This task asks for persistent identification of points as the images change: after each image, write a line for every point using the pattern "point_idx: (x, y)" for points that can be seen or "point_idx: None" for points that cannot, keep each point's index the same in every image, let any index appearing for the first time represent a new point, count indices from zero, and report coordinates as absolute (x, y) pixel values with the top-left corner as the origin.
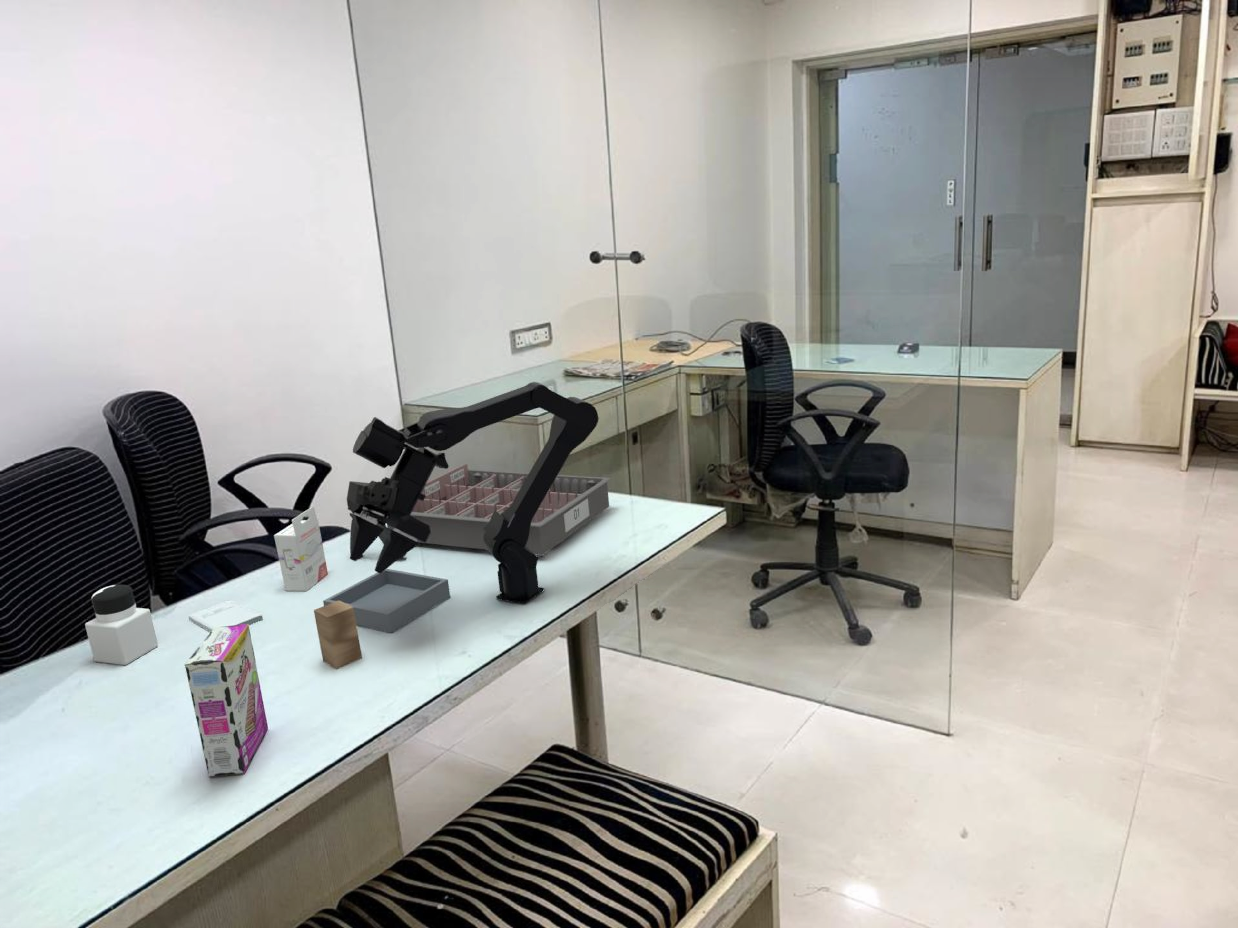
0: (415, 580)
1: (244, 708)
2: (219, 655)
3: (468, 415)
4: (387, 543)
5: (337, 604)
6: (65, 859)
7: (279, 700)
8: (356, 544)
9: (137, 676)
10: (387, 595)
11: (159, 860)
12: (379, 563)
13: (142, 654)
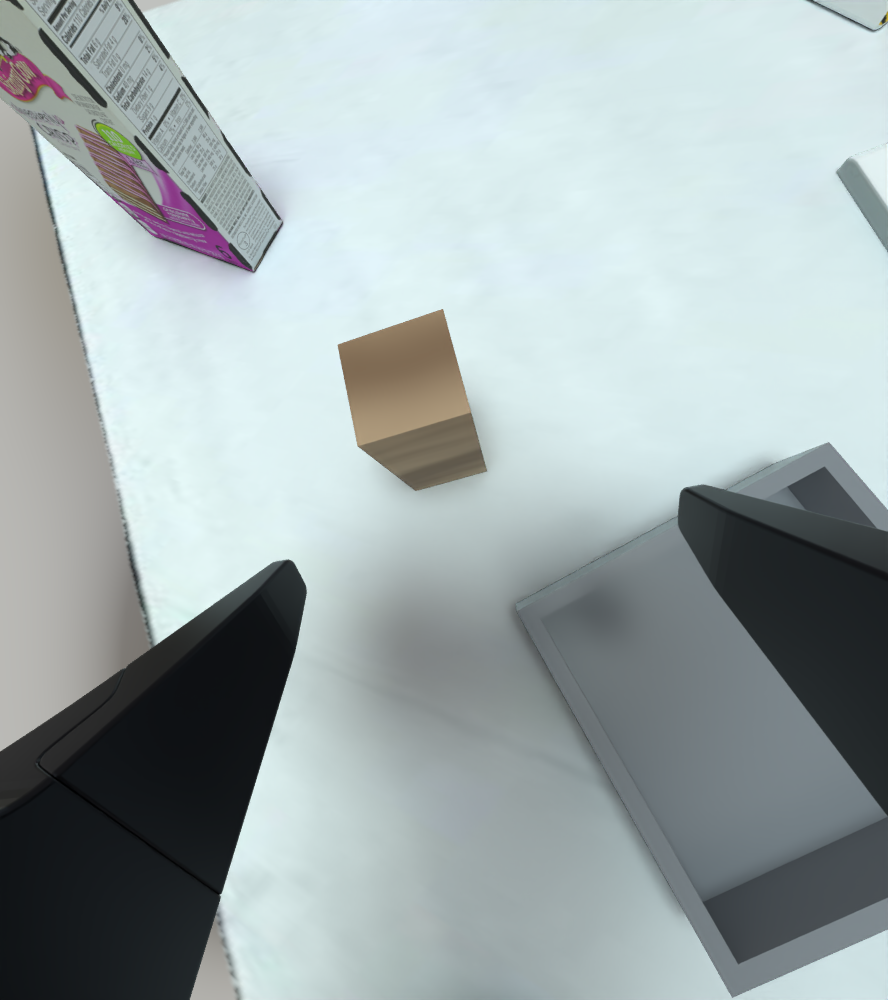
0: (879, 869)
1: (77, 150)
2: None
3: None
4: (15, 759)
5: (431, 397)
6: None
7: (345, 297)
8: (781, 551)
9: (685, 23)
10: None
11: None
12: (227, 596)
13: (827, 4)
